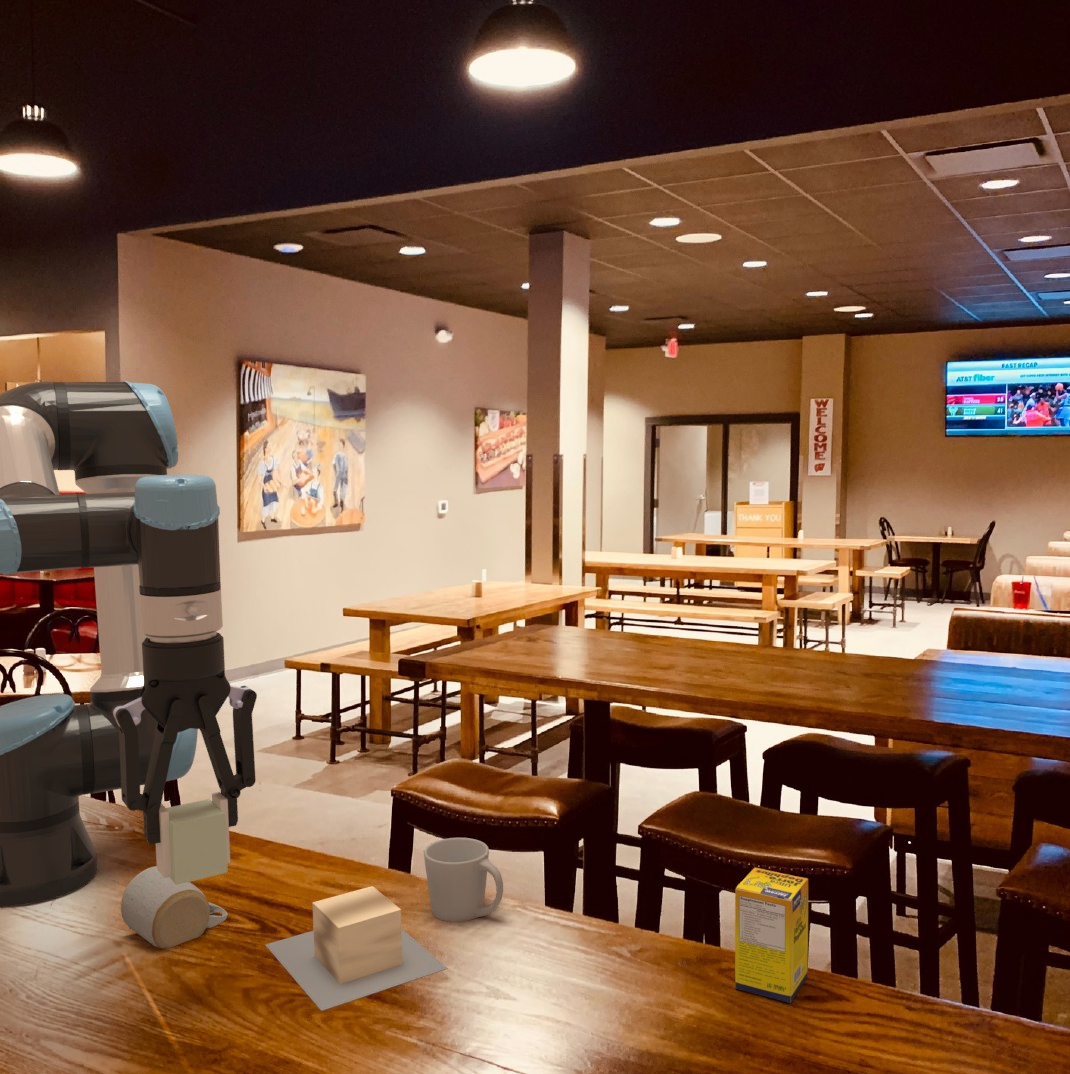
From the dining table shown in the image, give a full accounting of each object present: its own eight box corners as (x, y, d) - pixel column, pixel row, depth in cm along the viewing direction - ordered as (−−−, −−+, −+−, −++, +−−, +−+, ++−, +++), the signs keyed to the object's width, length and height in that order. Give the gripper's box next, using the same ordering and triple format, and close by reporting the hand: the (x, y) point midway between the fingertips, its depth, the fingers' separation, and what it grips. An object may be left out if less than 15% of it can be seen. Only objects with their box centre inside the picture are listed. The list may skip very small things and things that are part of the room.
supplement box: (808, 978, 109) (809, 877, 108) (791, 1005, 104) (792, 900, 103) (753, 963, 112) (754, 865, 111) (733, 989, 107) (734, 887, 106)
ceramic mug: (154, 965, 113) (152, 897, 112) (120, 940, 119) (118, 875, 118) (242, 932, 121) (240, 868, 120) (206, 910, 126) (204, 849, 126)
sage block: (162, 867, 104) (159, 809, 103) (212, 855, 107) (209, 799, 106) (175, 885, 100) (172, 824, 99) (227, 872, 103) (224, 813, 102)
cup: (450, 899, 128) (448, 832, 127) (519, 918, 123) (518, 848, 122) (412, 925, 121) (410, 854, 121) (483, 946, 116) (482, 872, 115)
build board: (265, 955, 115) (265, 944, 115) (381, 920, 123) (381, 910, 123) (321, 1022, 102) (321, 1010, 102) (447, 979, 109) (447, 968, 109)
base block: (314, 956, 112) (312, 902, 112) (374, 937, 116) (372, 886, 115) (340, 984, 106) (338, 927, 106) (402, 964, 110) (401, 909, 110)
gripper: (91, 653, 93) (105, 903, 95) (286, 629, 103) (294, 856, 105) (75, 639, 99) (89, 874, 102) (260, 618, 109) (269, 833, 112)
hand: (193, 865), depth 104 cm, fingers closed on sage block, 5 cm apart
